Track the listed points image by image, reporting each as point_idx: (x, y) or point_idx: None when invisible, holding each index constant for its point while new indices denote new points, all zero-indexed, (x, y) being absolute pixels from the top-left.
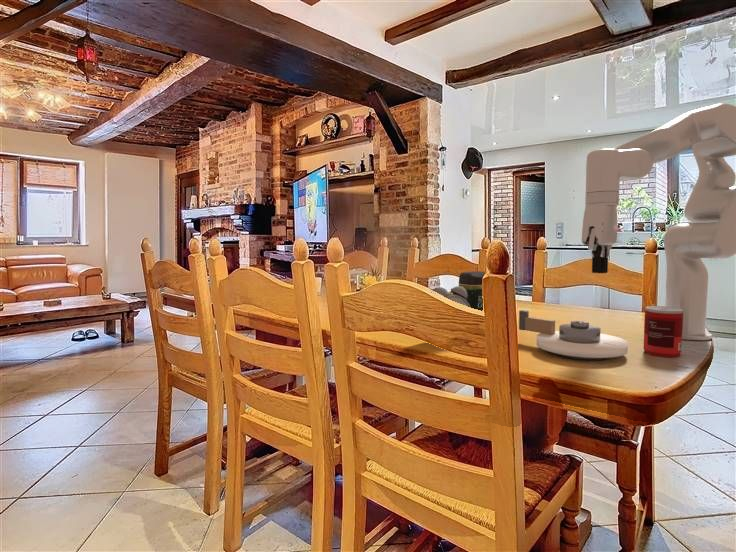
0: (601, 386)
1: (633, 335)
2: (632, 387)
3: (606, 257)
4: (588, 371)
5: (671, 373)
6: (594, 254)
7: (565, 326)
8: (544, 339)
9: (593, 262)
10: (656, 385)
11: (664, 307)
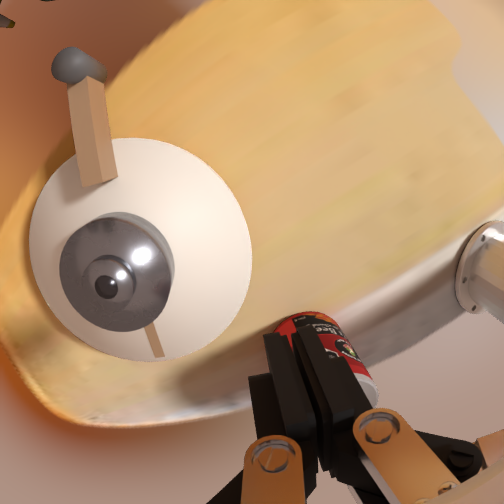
0: (30, 382)
1: (438, 202)
2: (64, 404)
3: (331, 474)
4: (53, 341)
5: (172, 408)
6: (234, 487)
7: (83, 248)
8: (42, 218)
9: (277, 395)
10: (100, 417)
11: (368, 395)
